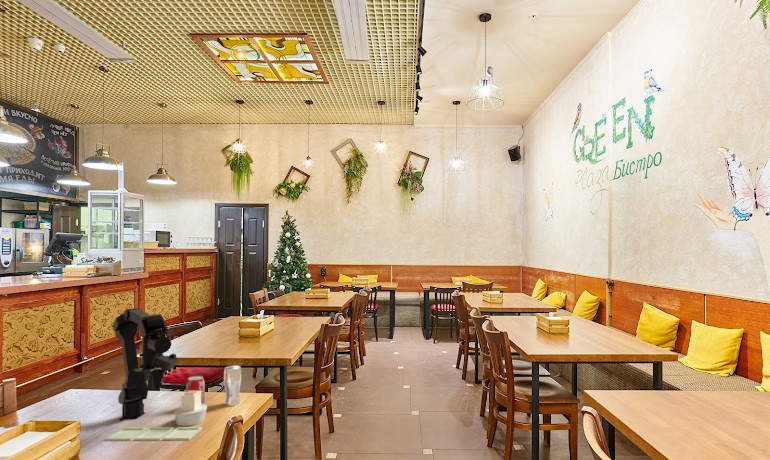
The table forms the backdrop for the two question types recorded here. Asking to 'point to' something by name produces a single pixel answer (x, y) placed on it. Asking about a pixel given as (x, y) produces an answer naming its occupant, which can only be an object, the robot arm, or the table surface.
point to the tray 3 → (182, 433)
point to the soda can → (196, 386)
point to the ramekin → (190, 416)
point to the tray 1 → (126, 434)
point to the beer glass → (232, 384)
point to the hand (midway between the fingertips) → (150, 392)
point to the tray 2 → (154, 433)
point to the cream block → (191, 400)
